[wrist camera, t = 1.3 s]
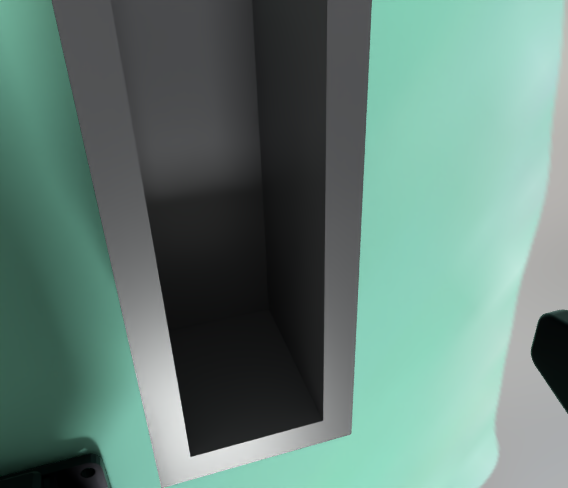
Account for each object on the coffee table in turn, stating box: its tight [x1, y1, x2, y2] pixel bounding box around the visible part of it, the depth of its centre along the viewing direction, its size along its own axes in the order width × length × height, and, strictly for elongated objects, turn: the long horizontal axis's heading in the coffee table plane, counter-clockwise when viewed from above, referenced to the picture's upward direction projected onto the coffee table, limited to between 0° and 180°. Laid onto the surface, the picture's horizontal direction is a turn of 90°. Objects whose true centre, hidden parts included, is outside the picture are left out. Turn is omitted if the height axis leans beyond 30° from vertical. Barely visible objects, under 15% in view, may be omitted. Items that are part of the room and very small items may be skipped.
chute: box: [52, 0, 372, 488], centre depth 13 cm, size 11×5×6 cm, turn 1°
